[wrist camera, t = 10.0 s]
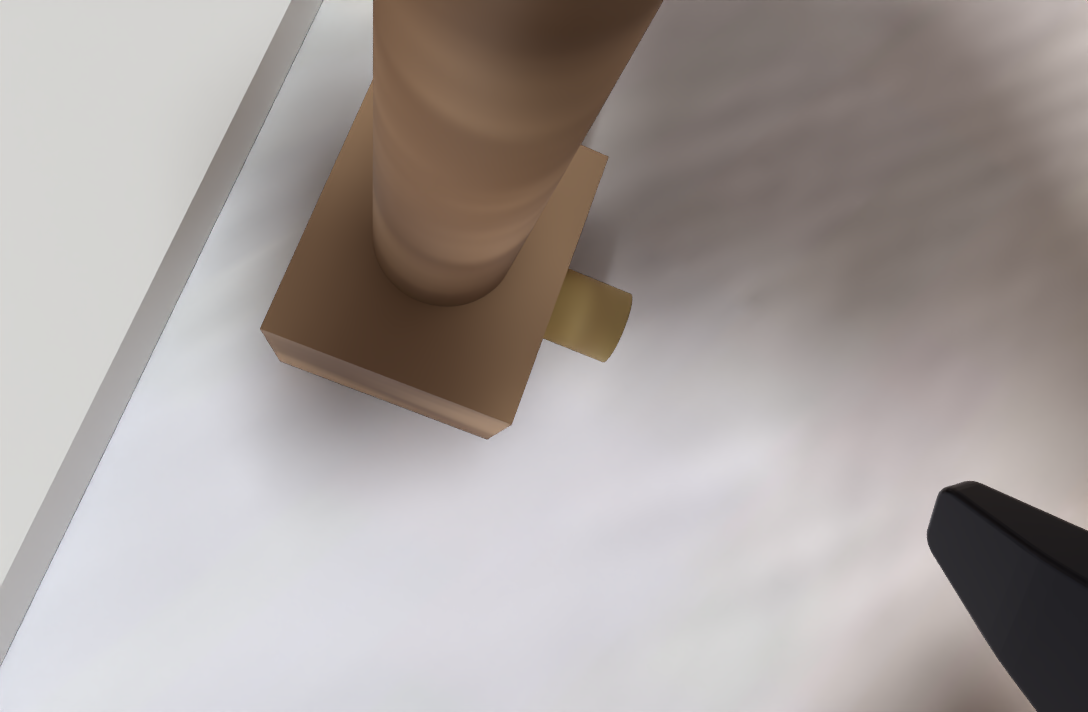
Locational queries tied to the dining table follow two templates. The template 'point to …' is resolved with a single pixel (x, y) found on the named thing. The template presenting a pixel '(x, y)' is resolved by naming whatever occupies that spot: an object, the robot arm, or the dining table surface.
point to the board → (107, 222)
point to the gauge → (462, 208)
